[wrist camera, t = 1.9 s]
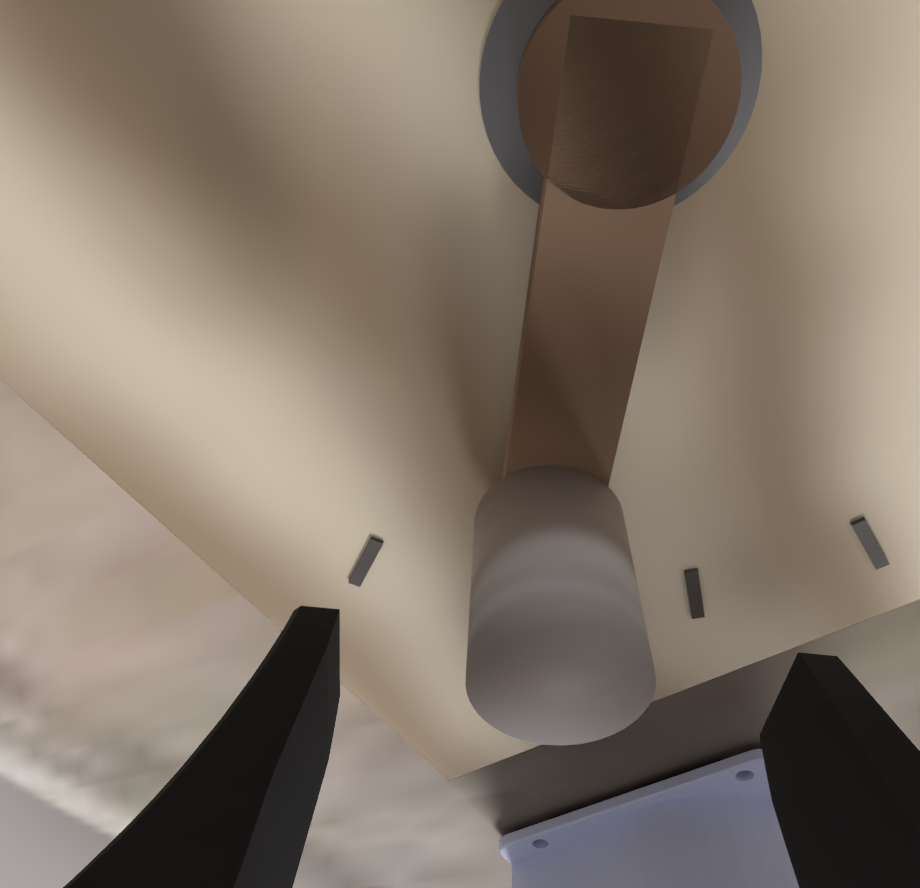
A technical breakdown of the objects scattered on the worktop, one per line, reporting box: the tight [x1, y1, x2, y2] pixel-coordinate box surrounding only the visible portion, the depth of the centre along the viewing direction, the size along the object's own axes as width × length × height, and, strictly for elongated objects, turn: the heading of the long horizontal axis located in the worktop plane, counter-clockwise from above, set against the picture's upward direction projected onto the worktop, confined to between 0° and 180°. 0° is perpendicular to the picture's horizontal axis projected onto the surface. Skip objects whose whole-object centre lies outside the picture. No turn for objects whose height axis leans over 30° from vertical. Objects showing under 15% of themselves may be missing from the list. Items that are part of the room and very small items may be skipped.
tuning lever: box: [465, 0, 742, 745], centre depth 13 cm, size 14×3×5 cm, turn 175°
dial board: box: [0, 0, 920, 780], centre depth 14 cm, size 26×21×1 cm
